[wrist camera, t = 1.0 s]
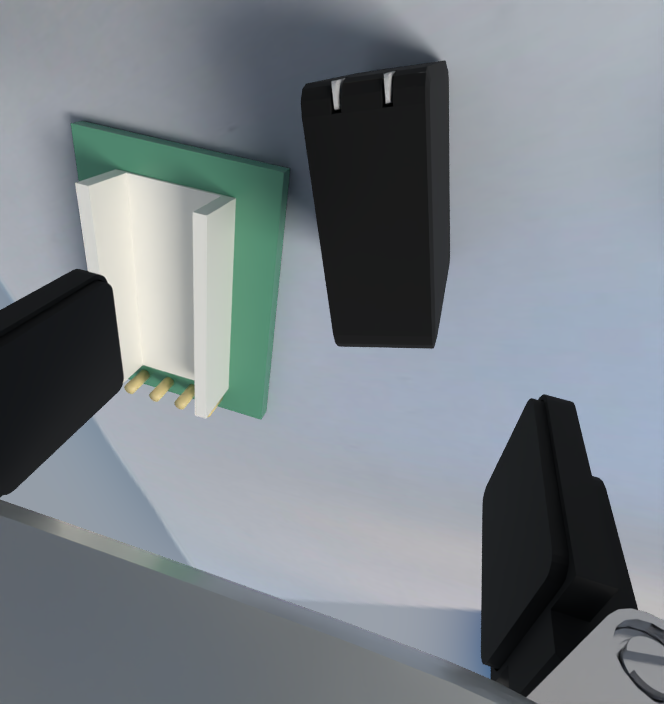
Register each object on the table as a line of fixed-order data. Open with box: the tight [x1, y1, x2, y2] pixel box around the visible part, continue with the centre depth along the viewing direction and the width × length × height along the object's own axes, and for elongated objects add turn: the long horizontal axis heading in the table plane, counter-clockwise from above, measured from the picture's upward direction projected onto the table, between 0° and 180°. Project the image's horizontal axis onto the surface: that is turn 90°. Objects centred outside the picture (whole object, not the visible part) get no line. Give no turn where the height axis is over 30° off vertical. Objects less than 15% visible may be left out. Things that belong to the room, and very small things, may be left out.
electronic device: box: [301, 61, 450, 348], centre depth 21 cm, size 4×10×10 cm, turn 7°
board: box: [71, 121, 290, 419], centre depth 31 cm, size 18×13×4 cm
